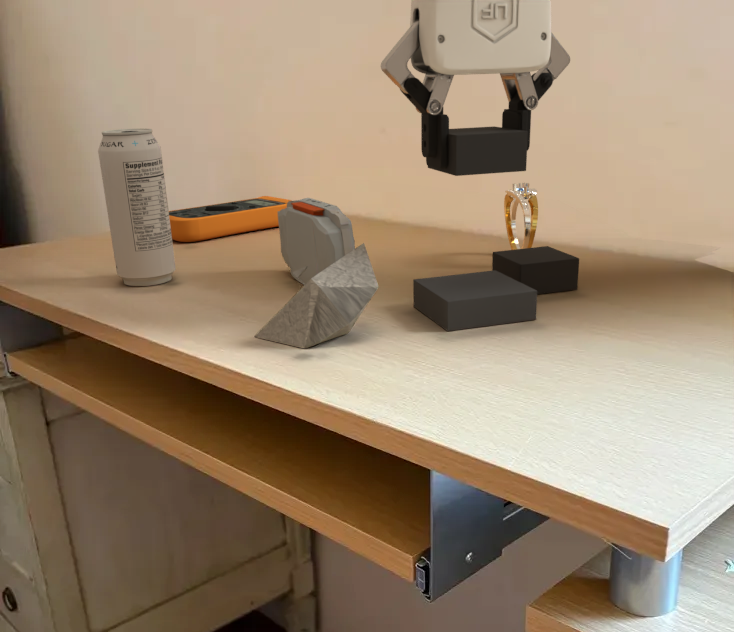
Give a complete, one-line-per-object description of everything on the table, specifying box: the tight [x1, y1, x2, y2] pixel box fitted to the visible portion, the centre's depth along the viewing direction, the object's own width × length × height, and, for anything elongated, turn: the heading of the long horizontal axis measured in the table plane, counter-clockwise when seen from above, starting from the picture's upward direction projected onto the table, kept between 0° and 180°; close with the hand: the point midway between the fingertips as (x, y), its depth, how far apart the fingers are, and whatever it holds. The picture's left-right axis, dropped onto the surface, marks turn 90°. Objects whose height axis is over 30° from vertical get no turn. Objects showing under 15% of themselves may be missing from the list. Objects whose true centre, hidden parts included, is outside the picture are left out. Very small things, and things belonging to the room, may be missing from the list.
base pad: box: [412, 270, 538, 332], centre depth 71 cm, size 8×8×2 cm
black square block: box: [427, 126, 528, 177], centre depth 66 cm, size 6×6×3 cm
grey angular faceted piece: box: [253, 242, 380, 349], centre depth 67 cm, size 12×6×9 cm
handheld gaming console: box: [277, 197, 356, 284], centre depth 82 cm, size 14×3×8 cm, turn 27°
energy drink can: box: [97, 128, 177, 287], centre depth 84 cm, size 6×6×15 cm
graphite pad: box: [491, 245, 580, 295], centre depth 79 cm, size 6×6×3 cm
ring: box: [503, 182, 539, 250], centre depth 89 cm, size 7×3×8 cm, turn 5°
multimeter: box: [169, 195, 293, 243], centre depth 111 cm, size 9×18×3 cm, turn 129°
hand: (475, 161), depth 67 cm, fingers closed on black square block, 6 cm apart
